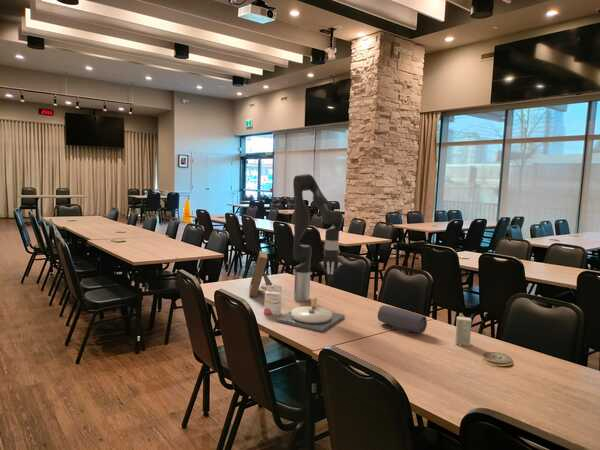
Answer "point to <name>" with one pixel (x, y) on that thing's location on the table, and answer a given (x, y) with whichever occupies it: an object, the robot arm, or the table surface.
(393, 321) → the bluetooth speaker
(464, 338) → the skincare box
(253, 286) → the photo frame
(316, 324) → the base plate
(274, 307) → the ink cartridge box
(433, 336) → the table surface
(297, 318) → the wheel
